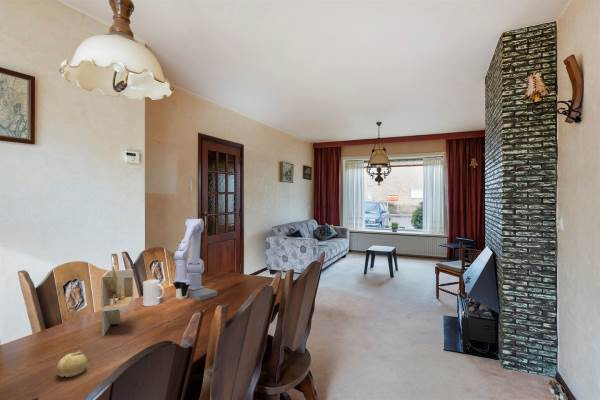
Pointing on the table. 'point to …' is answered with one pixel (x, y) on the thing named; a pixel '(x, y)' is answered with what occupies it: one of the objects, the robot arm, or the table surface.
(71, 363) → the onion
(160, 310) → the table surface
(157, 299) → the mug
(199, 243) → the robot arm
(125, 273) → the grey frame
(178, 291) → the block
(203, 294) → the plate
